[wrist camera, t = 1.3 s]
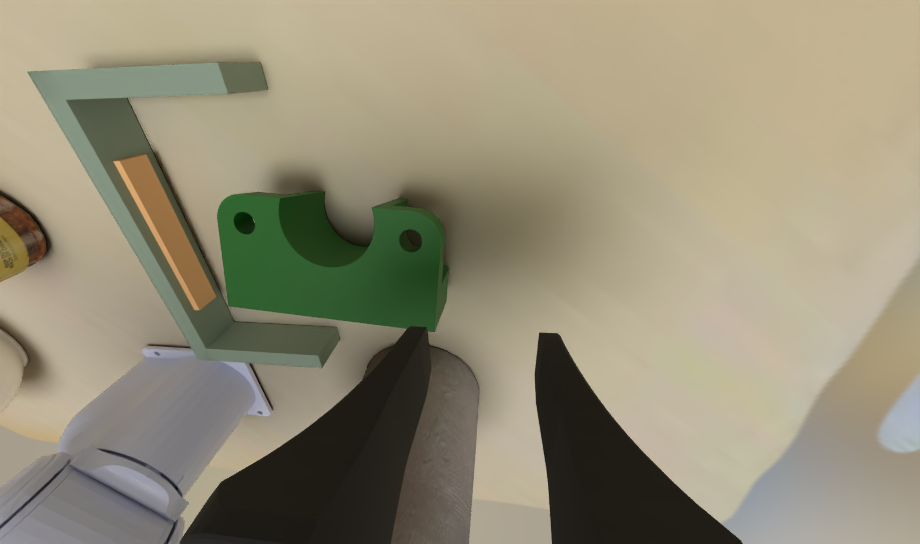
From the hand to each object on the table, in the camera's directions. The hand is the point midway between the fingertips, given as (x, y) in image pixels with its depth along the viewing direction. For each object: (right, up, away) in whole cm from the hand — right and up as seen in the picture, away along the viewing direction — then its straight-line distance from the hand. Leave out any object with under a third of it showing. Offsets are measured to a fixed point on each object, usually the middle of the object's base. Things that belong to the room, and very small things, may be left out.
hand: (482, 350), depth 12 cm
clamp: (-7, +5, +10) cm, 13 cm away
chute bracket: (-15, +6, +10) cm, 19 cm away
